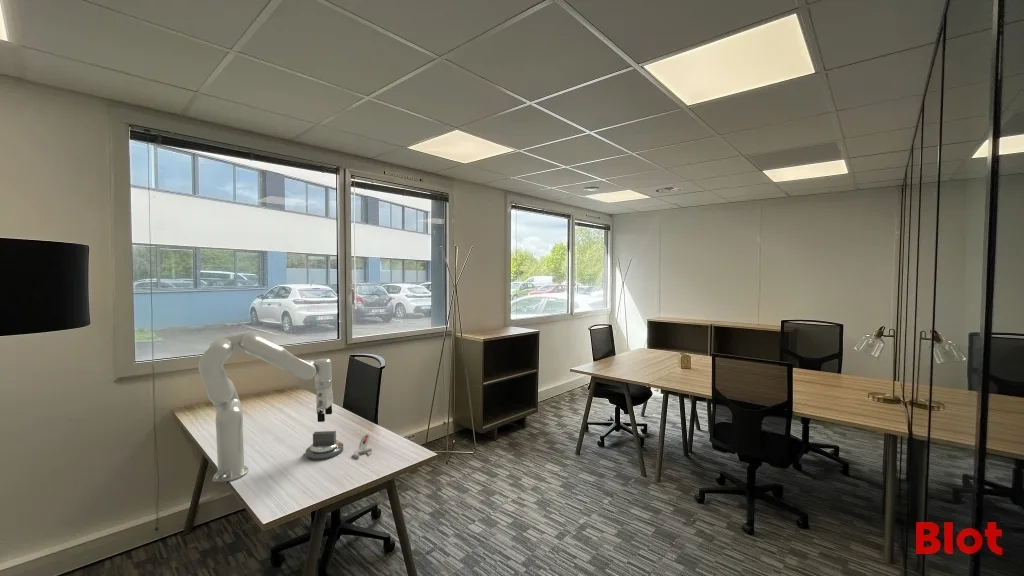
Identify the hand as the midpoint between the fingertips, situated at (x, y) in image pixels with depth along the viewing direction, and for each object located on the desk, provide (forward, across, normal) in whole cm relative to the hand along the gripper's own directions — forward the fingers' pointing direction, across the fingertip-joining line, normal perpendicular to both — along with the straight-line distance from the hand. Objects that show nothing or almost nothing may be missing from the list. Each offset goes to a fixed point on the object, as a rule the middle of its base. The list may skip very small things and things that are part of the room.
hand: (325, 417), depth 197 cm
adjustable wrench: (+18, +4, -17) cm, 26 cm away
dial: (+15, 0, 0) cm, 15 cm away
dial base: (+17, 0, +1) cm, 17 cm away
